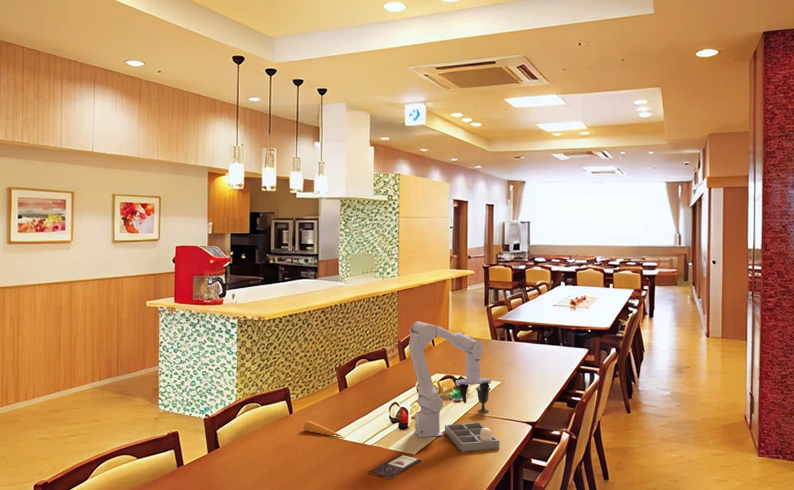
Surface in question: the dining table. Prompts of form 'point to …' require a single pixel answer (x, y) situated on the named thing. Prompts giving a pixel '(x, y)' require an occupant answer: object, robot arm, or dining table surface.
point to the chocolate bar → (395, 466)
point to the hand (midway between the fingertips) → (473, 401)
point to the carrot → (318, 428)
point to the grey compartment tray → (470, 437)
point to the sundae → (484, 400)
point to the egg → (485, 434)
